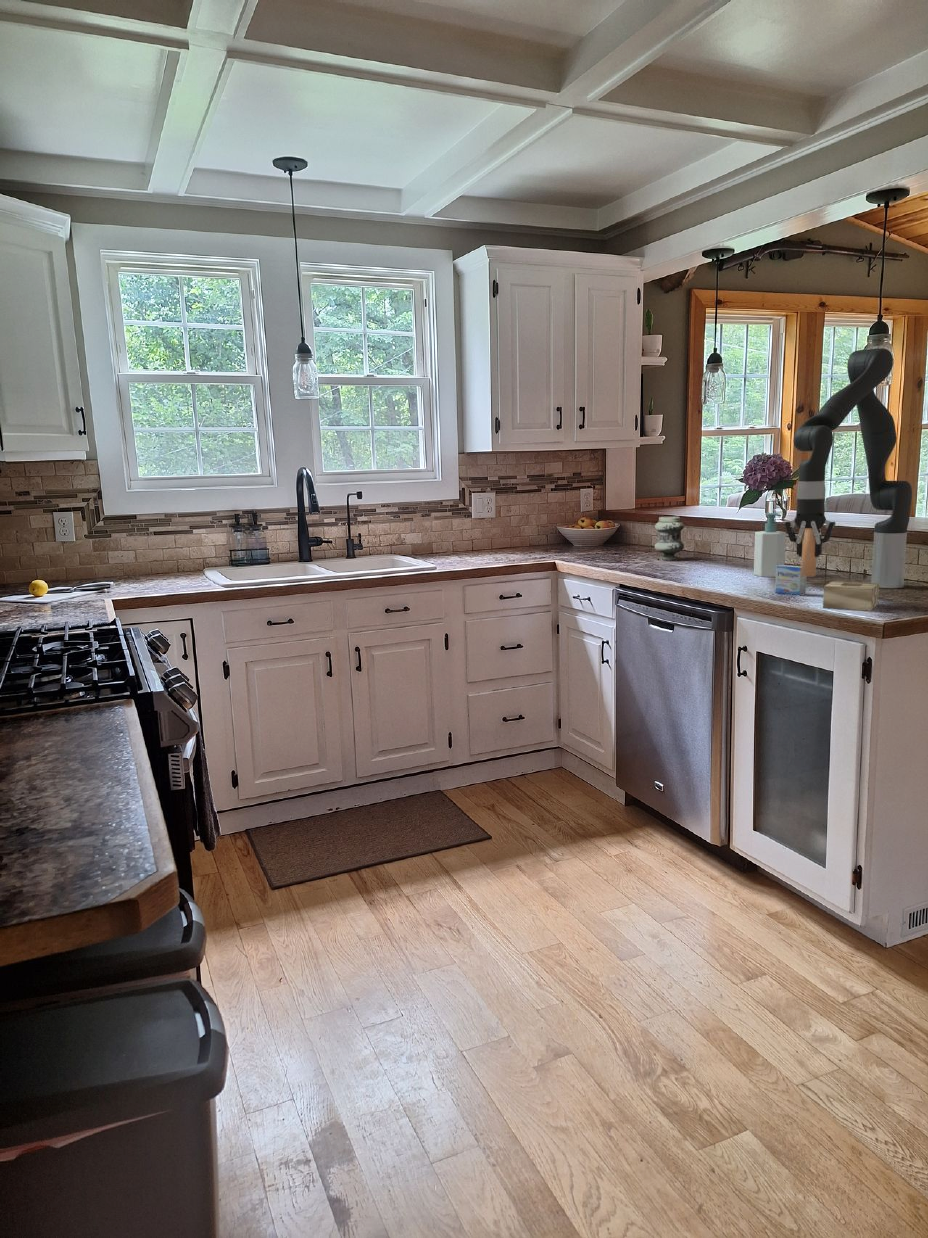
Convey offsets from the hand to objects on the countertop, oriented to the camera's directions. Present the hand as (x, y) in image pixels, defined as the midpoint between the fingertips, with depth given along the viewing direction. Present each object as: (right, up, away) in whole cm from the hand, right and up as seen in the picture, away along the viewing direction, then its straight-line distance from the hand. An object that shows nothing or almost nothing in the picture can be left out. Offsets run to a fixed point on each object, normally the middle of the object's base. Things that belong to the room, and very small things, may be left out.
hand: (808, 556), depth 247 cm
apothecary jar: (-14, +7, +111) cm, 113 cm away
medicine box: (0, -11, +14) cm, 18 cm away
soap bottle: (+8, -3, +56) cm, 57 cm away
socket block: (+8, -15, -10) cm, 19 cm away
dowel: (0, -6, +1) cm, 6 cm away
